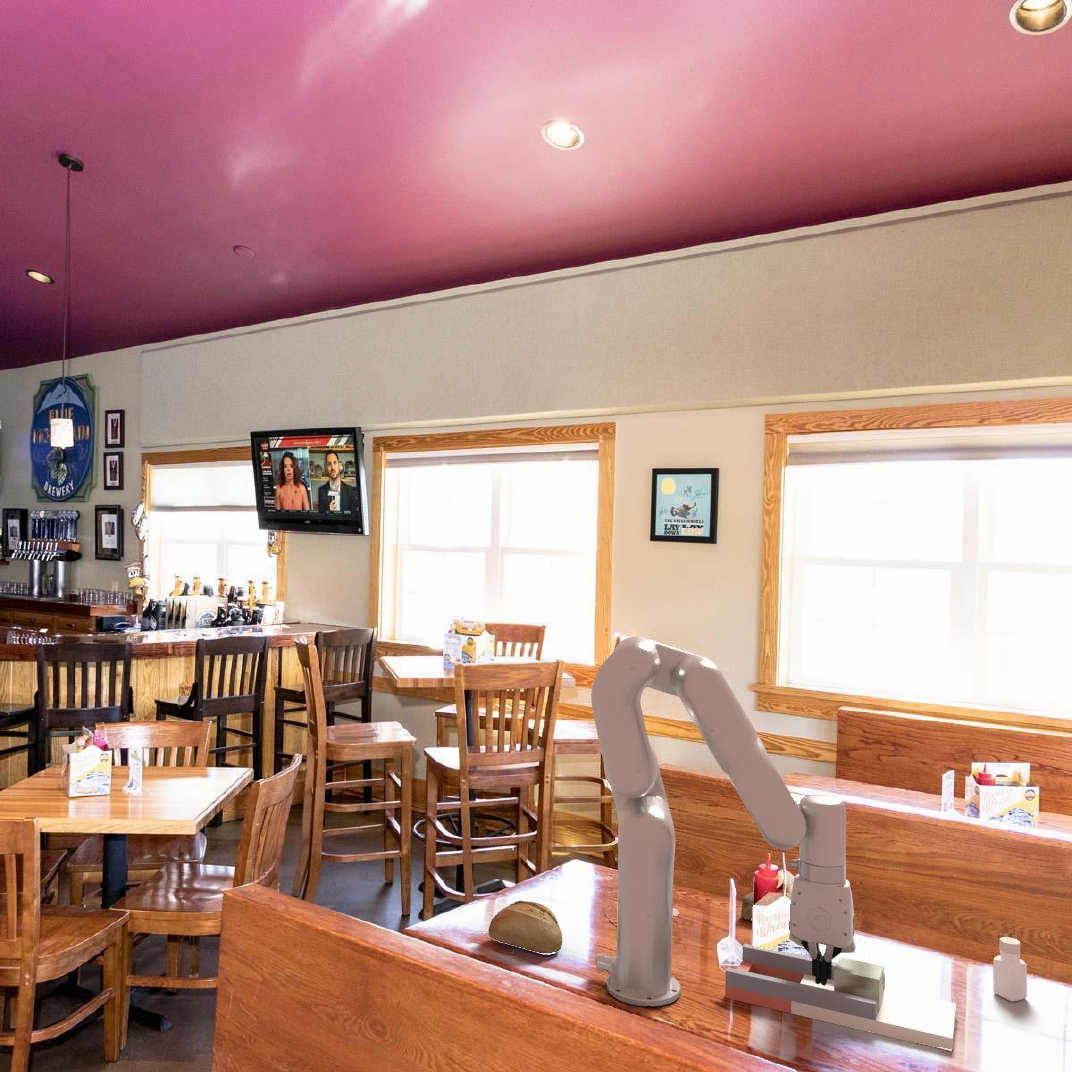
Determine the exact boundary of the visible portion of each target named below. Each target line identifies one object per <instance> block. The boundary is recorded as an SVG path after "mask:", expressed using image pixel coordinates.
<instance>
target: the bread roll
mask: <svg viewBox="0 0 1072 1072" xmlns="http://www.w3.org/2000/svg"><path fill="white" fill-rule="evenodd" d="M488 936H489V938H490V937H491V938H493V939H495V940H498V941H500V942H503V943H507V944H510V945H514V946H517V947H521V948H525V949H527V950H531V951H535V952H539V953H552V952H557V951H559V950H560V951H561V949H562V947H563V946H562V945H563V933H562V929H561V927H560V924H559V921H558V919H557V917H556V915H555V914H554V913H553V911H552V910H551V909H549V908H548V907H547V906H545V905H544V904H541V903H538V902H534V901H529V900H527V901H526V900H525V901H524V900H518V901H515V902H513V903H510V904H509V905H507V906H505V907H504V908H502V909H501V910H500V911H499V912H497V913H496V914H495V915H494V916H493V918H492V919H491V921H490V924H489V927H488ZM491 938H490V939H491ZM527 950H526V951H527ZM560 951H559V952H560ZM557 953H558V952H557Z"/></svg>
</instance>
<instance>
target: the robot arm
mask: <svg viewBox="0 0 1072 1072" xmlns="http://www.w3.org/2000/svg"><path fill="white" fill-rule="evenodd" d="M646 688H650V689H651V690H652V689H653V690H656V691H659V692H661V693H666V694H669V695H672V696H675V697H678V698H679V700H680V701H681V703H682V705H683V706H684V708H685V709H686V711H687V713H688V715H689V717H690V718H691V720H692V721H693V724H694V725H695V727H696V729H697V730H698V732H699V734H700V735H701V737H702V739H703V741H704V742H705V744H706V746H707V748H708V749H709V751H710V753H711V755H712V756H713V758H714V759H715V761H716V763H717V765H718V766H719V768H720V769H721V771H722V772H723V773H724V774H725V776H726V777H727V779H728V781H729V782H730V783H731V784H732V786H733V787H734V789H735V791H736V792H737V794H738V796H739V798H740V800H741V801H742V803H743V804H744V806H745V807H746V810H747V811H748V813H749V815H750V817H751V818H752V820H753V821H754V823H755V825H756V827H757V828H758V830H759V832H760V834H761V836H762V838H763V839H764V840H765V841H766V843H768V844H769V845H770V846H772V847H773V848H776V849H779V850H792V849H793V848H796V847H798V846H799V854H798V855H799V856H798V857H799V858H798V859H791V860H790V868H793V869H795V870H797V872H798V873H797V874H796V875H795V876H794V878H793V882H792V888H791V893H790V894H791V897H790V900H791V904H790V921H789V936H788V938H789V940H790V941H791V942H793V943H796V944H798V945H801V946H802V947H803V948H804V949H805V951H807V953H808V954H809V957H811V958H812V976H815V984H820V983H821V984H822V985H824V986H825V985H826V983H827V981H828V979H830V980H831V977H832V962H833V959H835V958H837V956H839V955H840V954H841V953H842V954H851V953H854V952H855V951H856V948H857V947H856V942H855V938H854V936H855V913H854V900H853V894H852V889H851V884H850V881H849V880H848V879H847V877H846V876H847V873H846V872H847V871H846V870H847V809H846V805H845V803H844V801H842V799H840V798H838V797H835V796H831V795H824V794H810V795H803V794H796V793H791V792H790V790H789V788H788V787H787V785H786V783H785V782H784V780H783V778H782V776H781V775H780V773H779V771H778V770H777V768H776V766H775V764H774V763H773V760H772V759H771V757H770V756H769V754H768V752H767V749H766V747H765V745H764V743H763V740H762V739H761V738H760V736H759V734H758V732H757V731H756V729H755V726H754V725H753V724H752V722H751V720H750V719H749V716H748V715H747V714H746V712H745V710H744V708H743V707H742V705H741V703H740V702H739V700H738V698H737V697H736V695H735V693H734V692H733V690H732V688H731V687H730V685H729V682H728V681H727V679H726V678H725V676H724V674H723V673H722V671H721V670H720V668H719V667H718V666H717V665H716V664H715V663H714V662H713V661H712V660H710V659H709V658H708V657H706V656H705V657H704V656H703V655H699V654H696V653H692V652H690V651H685V650H682V649H678V648H676V647H674V646H673V647H672V646H670V645H667V644H663V643H660V642H657V641H654V640H652V639H649V638H645V637H642V636H629V637H627V638H625V639H623V640H621V641H620V642H619V643H618V644H617V645H616V646H615V648H614V650H613V652H612V653H611V654H610V655H609V656H608V657H607V658H606V659H605V660H604V662H603V663H602V664H601V666H600V667H599V669H598V671H597V673H596V674H595V676H594V679H593V683H592V687H591V694H590V695H591V696H590V697H591V698H590V699H591V702H590V703H591V709H592V714H593V715H592V716H593V719H594V724H595V728H596V734H597V738H598V739H597V740H598V743H599V748H600V752H601V755H602V761H603V771H604V774H605V779H606V781H607V783H608V784H609V786H610V790H611V794H612V797H613V798H612V799H613V801H614V806H615V808H616V813H617V817H618V832H617V833H618V835H617V837H618V838H617V850H618V851H617V891H616V893H617V895H616V897H617V901H616V903H617V927H616V952H615V953H616V955H615V954H614V955H613V956H611V955H608V954H604V953H599V952H598V953H596V955H595V958H594V959H595V960H594V963H595V966H596V968H595V969H596V970H597V971H599V972H606V973H608V974H609V976H608V977H607V979H606V990H607V989H608V990H607V992H608V991H609V992H608V993H609V994H610V995H611V996H612V997H613V998H615V1000H618V1001H620V1002H623V1003H625V1004H629V1005H633V1006H638V1007H647V1006H651V1007H661V1006H665V1005H670V1004H672V1003H674V1002H675V1001H676V1000H678V999H679V997H680V995H681V993H682V992H681V987H682V986H681V984H680V982H679V980H677V978H675V977H674V976H673V974H672V972H673V967H672V966H673V926H674V925H673V923H674V922H673V921H674V920H673V908H674V869H675V868H674V867H675V855H676V832H675V827H674V821H673V818H672V815H671V809H670V806H669V805H670V804H669V802H668V798H667V794H666V790H665V785H664V783H663V779H662V774H661V771H660V770H661V769H660V766H659V762H658V758H657V754H656V750H655V748H654V746H653V745H652V744H651V742H650V740H649V737H648V731H647V727H646V724H645V719H644V715H643V714H644V713H643V710H642V705H641V700H642V695H643V692H644V691H645V689H646ZM820 945H825V951H824V953H822V951H821V949H820Z"/></svg>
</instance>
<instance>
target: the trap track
mask: <svg viewBox="0 0 1072 1072" xmlns="http://www.w3.org/2000/svg"><path fill="white" fill-rule="evenodd" d="M754 946H755V945H754ZM754 946H753V944H749V943H744V944H743V945H742V956H741V957H742V960H743V961H742V960H741V962H740V963H739V965H738V966H737V968H732V967H727V968H726V969H725V987H724V989H725V990H724V996H725V997H726V998H725V997H724V998H725V999H729V998H730V999H729V1000H734V1001H738V1002H742V1003H746V1004H749V1005H750V1004H751V1005H754V1006H759V1007H762V1008H766V1009H771V1010H775V1011H780V1012H784V1013H788V1014H792V1015H796V1016H801V1017H804V1018H809V1019H813V1020H818V1021H821V1022H826V1023H831V1024H834V1025H838V1026H842V1027H847V1028H851V1029H855V1030H858V1031H862V1030H863V1031H862V1032H867V1031H870V1032H869V1033H871V1032H873V1033H872V1034H875V1033H878V1034H877V1035H879V1034H881V1035H880V1036H883V1035H885V1036H884V1037H888V1038H893V1039H897V1040H901V1041H905V1042H909V1043H914V1044H917V1043H919V1044H918V1045H921V1044H924V1045H923V1046H925V1045H930V1046H934V1047H943V1048H948V1049H953V1050H954V1041H953V1039H955V1031H954V1030H956V1021H955V1020H957V1019H956V1017H957V1003H956V1002H952V1001H949V1000H947V1001H946V1000H942V999H939V998H938V999H937V998H934V997H929V996H925V995H920V994H915V993H910V992H906V991H901V990H896V989H891V988H887V987H886V984H885V983H886V973H885V972H884V977H883V1000H882V1003H881V1007H880V1011H879V1012H878V1011H877V1000H872V999H868V998H863V997H859V996H854V995H850V994H845V993H841V992H836V991H834V970H835V967H836V965H837V963H838V962H835V961H832V977H831V980H830V979H828V981H827V983H826V985H825V986H824V985H822V984H821V983H820V984H815V976H812V958H811V957H810V956H805V955H801V954H796V953H791V952H787V953H786V951H783V952H778V951H779V950H778V951H770V950H765V949H759V948H754ZM934 1047H933V1048H934Z"/></svg>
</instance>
